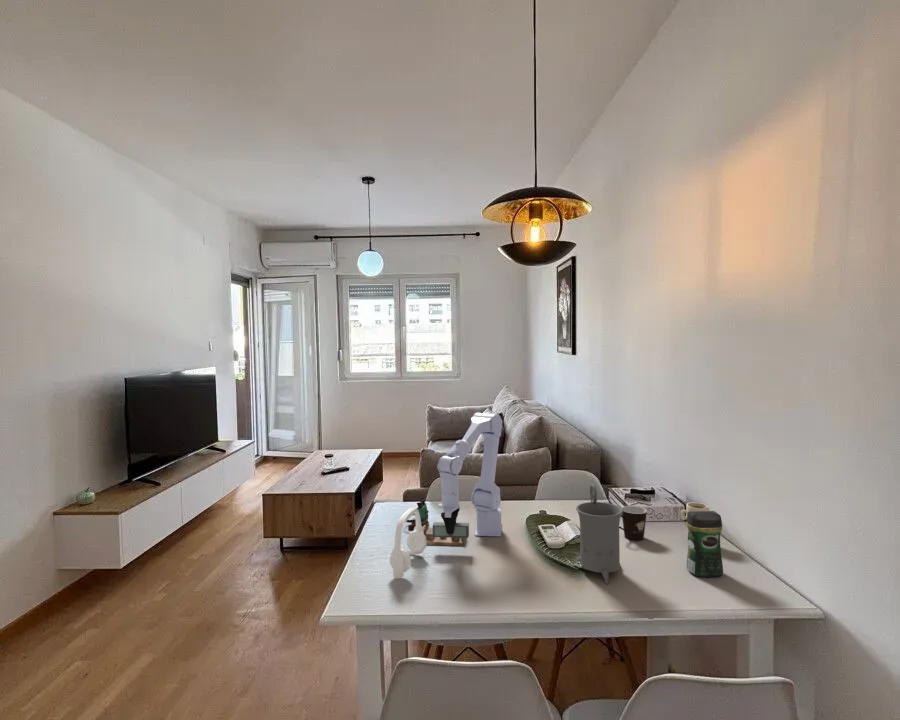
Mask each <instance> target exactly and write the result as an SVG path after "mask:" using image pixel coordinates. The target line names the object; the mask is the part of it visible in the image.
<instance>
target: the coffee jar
mask: <svg viewBox="0 0 900 720" xmlns="http://www.w3.org/2000/svg"><path fill="white" fill-rule="evenodd" d="M686 527H687V529H688V531H689V540H688V548H687V555H686V569H687V571H688V572H690V574H691V575H694V576H695V577H696V576H697V577H701V578H703V577H704V578H713V577H714V578H715V577H721V576H722V575H724V564H723V558H722V557H723V556H722V548H721V533H722V531H723V522H722V516H721V515H720V514H719V513H718V512H717V511H715V510H709V511H689V512H688V513H687V520H686Z"/></svg>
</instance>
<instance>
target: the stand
mask: <svg viewBox="0 0 900 720" xmlns="http://www.w3.org/2000/svg"><path fill="white" fill-rule="evenodd" d="M423 529H424V535H425V537H426V540H427V545H428V546H431V545H432V546H434V545H435V546H456V547H457V546H461V547H462V546H463V547H464V546H465V544H466V540H467V538H452V537H433V527H429V528H428V529H427V526H426V525H423ZM427 545H426V546H427Z"/></svg>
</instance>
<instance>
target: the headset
mask: <svg viewBox="0 0 900 720" xmlns="http://www.w3.org/2000/svg"><path fill="white" fill-rule="evenodd" d="M416 508H417V507H410V508H408V509H407V510H406V511H404V512H403V514H402V515H401V516H400V517H399V519H398V522H397V524H396V530H395V535H394V544H393V545H394V547H393V549H392V551H391V553H390V556H389V564H390V566H391V568H392V574H393V575H392V576H393V579H394V580H396V579H397V580H398V579H401V578H403V577H404V575H405V573H406V572H408V570H409V569H410V568H411V565H412V559H411V556H414V555H420V554H423V553H424V551H425V549H426V548H427V540H426V537H425V535H424V529H423V527H422V525H421V519H420V514H419V511H418V509H416ZM413 514H415V515H413ZM412 516H414V518H415V521H416V526H415V527H414V528H413V530H412V531H410V532H409V534H408V535H407V540H406V544H407V547H408V549H409V551H406V549H403V548H401V542H402V541H401V540H402V531H403V526H404V524H405V523H407V522H406V521H407V520H410V518H411V517H412Z"/></svg>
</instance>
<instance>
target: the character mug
mask: <svg viewBox="0 0 900 720" xmlns="http://www.w3.org/2000/svg"><path fill="white" fill-rule="evenodd" d="M685 508H686V509H681V510H680V519H681V520H686V521H687V513H688V512H689V511H710V507H709V505H707V504H705V503H701V502H695V501H693V502H692V501H691V502H688V503H686V506H685ZM684 514H685V515H684ZM687 540H688V541H689V530H688V533H687Z"/></svg>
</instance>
